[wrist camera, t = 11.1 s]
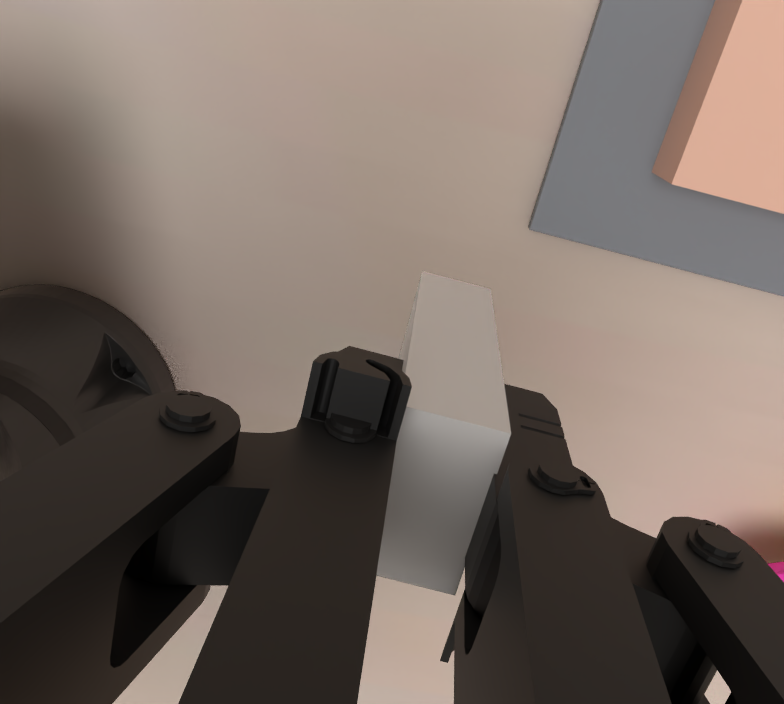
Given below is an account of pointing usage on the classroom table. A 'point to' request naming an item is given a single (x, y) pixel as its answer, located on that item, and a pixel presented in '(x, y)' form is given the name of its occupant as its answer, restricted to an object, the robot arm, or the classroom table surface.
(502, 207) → the classroom table surface
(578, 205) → the slate mat
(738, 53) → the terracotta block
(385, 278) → the classroom table surface
